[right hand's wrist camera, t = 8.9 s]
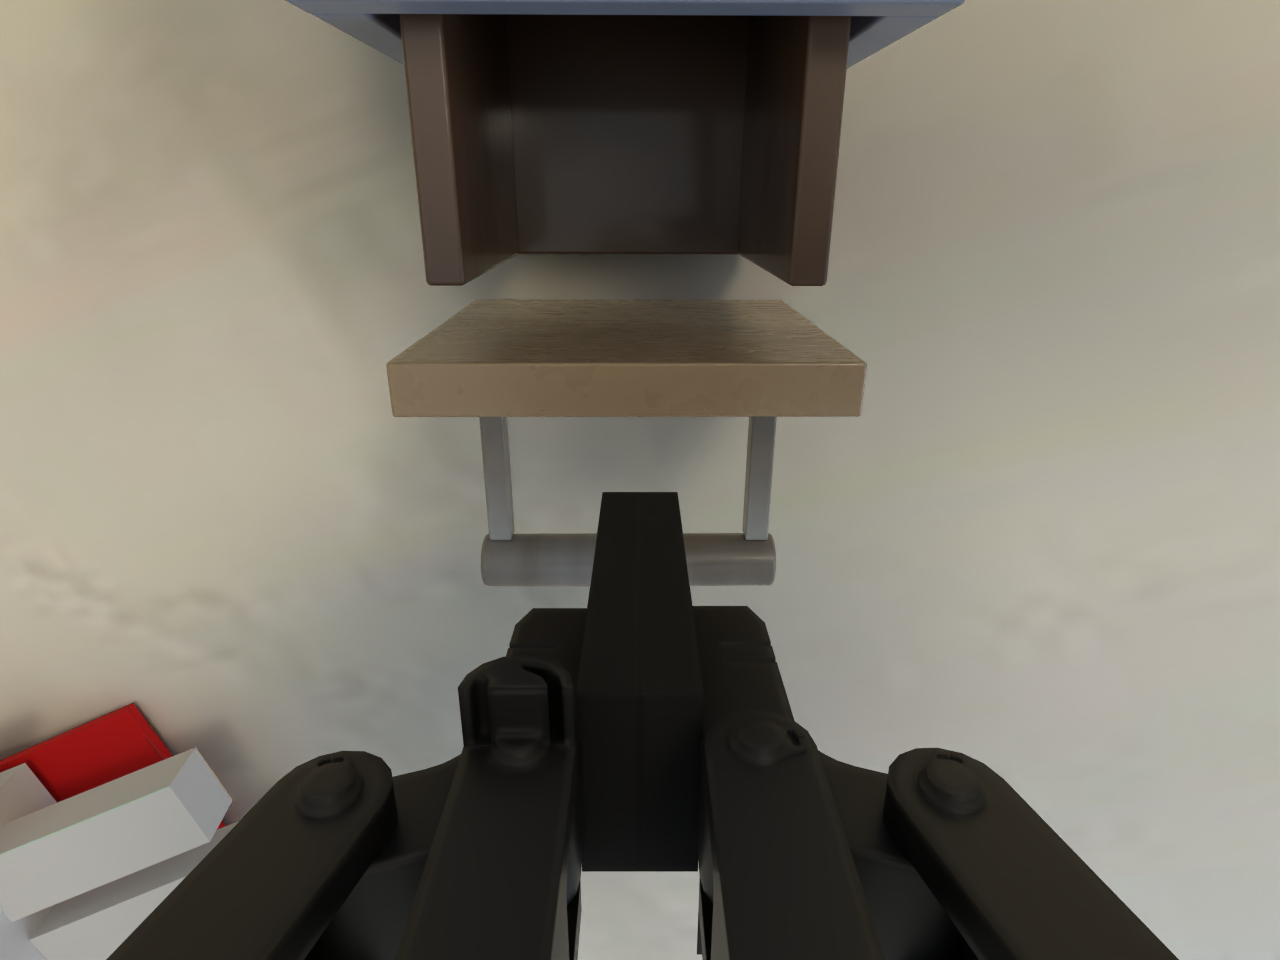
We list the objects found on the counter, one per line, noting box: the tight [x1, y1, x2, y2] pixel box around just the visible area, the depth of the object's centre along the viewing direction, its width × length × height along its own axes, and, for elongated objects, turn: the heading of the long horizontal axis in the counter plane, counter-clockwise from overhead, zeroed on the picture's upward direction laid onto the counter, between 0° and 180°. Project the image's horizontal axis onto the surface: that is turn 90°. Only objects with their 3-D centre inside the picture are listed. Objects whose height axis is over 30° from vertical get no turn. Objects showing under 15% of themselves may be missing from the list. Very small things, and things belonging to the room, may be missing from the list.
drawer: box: [386, 14, 867, 586], centre depth 18 cm, size 24×10×10 cm, turn 0°
